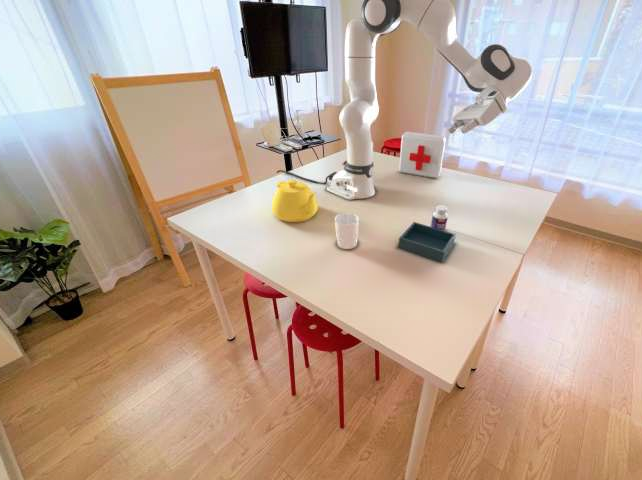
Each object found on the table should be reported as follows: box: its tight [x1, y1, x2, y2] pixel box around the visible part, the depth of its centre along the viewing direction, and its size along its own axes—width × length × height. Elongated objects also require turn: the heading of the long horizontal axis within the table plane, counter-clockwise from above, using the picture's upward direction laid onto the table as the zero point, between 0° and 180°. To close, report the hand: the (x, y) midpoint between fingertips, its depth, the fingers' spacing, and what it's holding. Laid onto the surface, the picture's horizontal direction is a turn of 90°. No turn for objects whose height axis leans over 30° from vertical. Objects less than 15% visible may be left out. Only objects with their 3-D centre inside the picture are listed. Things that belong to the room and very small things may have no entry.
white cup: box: [334, 212, 360, 250], centre depth 103 cm, size 8×8×10 cm
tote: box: [397, 221, 457, 263], centre depth 105 cm, size 16×13×4 cm
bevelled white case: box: [398, 131, 447, 180], centre depth 154 cm, size 21×8×20 cm, turn 68°
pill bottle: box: [430, 204, 449, 231], centre depth 112 cm, size 5×5×10 cm
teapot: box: [271, 179, 319, 223], centre depth 118 cm, size 25×18×14 cm
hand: (456, 131), depth 103 cm, fingers open, 8 cm apart
